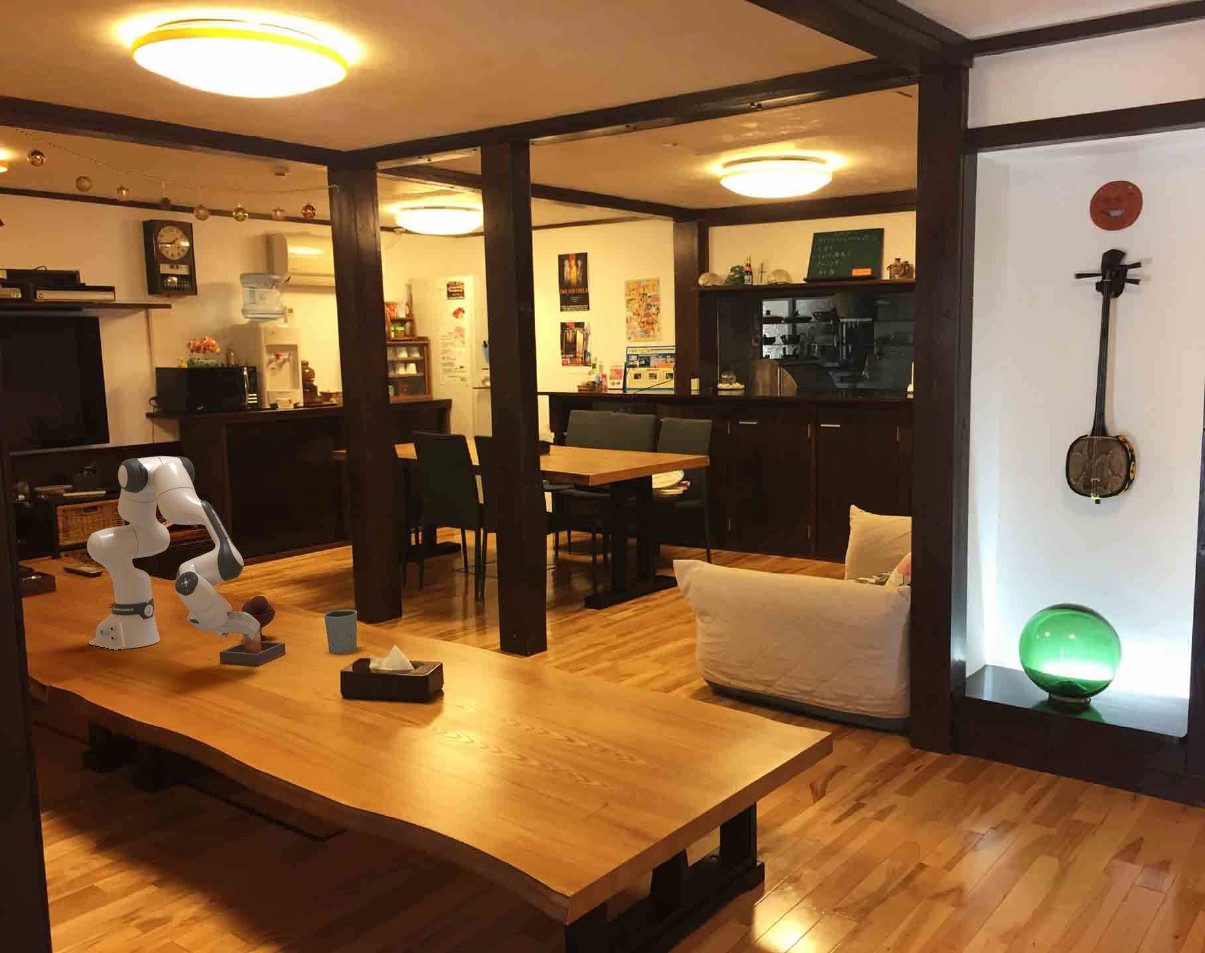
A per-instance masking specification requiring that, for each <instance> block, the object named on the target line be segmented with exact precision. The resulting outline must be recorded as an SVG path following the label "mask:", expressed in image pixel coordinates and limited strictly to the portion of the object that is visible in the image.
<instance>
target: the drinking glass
mask: <svg viewBox="0 0 1205 953" xmlns="http://www.w3.org/2000/svg"><path fill="white" fill-rule="evenodd" d="M323 616H324V617H323V618H324V623H325V624H324V625H325V631H326V632H325V633H326V637H327V646H328V647H327V648H328V653H330V654H332V653H333V654H332V655H345V654H344V653H347V654H351V653H354V652H355V651H356V652H357V648H358V643H357V642H358V640H357V639H358V637H357V636H358V635H357V632H358V611H357V610H354V609H338V610H331V611H328V612H325V613H324V614H323Z"/></svg>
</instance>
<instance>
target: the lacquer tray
mask: <svg viewBox="0 0 1205 953" xmlns="http://www.w3.org/2000/svg"><path fill="white" fill-rule="evenodd" d="M284 654H285V655H286V643H285V642H276V641H275V642H273V641H261V652H260V653H258V654H252V653H244V643H243V642H241V643H238V644H236V645H234V646H231V647H228V648H226V649H224V650H221V651H219V663H220V664H224V663H227V664H226V665H235V664H236V665H237V666H247V665H254V666H253V667H260V666H262V665H265V664H267V663H269V662H271V661H273V660H275V659H277V657H278V658H280V657H282V656H284ZM268 661H269V662H268ZM264 663H265V664H264ZM259 665H260V666H259Z"/></svg>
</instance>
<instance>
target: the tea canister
mask: <svg viewBox="0 0 1205 953" xmlns="http://www.w3.org/2000/svg"><path fill="white" fill-rule="evenodd" d="M246 636H247V634H242V641H243V642H242V643H244V653H252V654H258V653H260V652H261V638H260V626H259V629H258V631H257V633H256V634H255V637H254V639H248V638H247V637H246Z"/></svg>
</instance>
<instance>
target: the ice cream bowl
mask: <svg viewBox="0 0 1205 953" xmlns="http://www.w3.org/2000/svg"><path fill="white" fill-rule="evenodd" d="M241 612H246V613H248V614H250V615H251V616H252V617H254V618H255V619H256V620H257V621H258V622H259V623H260V638H261V641H264V642H268V640H269V638H268V637H267V636H266V635H263V632H262V630H263V628H264V627H267V625H269V624H271V622H272V621H273V620H274V618H275V616H276V610H275V609H274V607H273V606H272V605H271V604H270V603H269V602H268V599H267V598H266V597H265V596H264V595H255V596H254V597H252V598H251V599H249V600H248V601H246V602H245V603H244V604H243V606H242V607H241Z"/></svg>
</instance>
